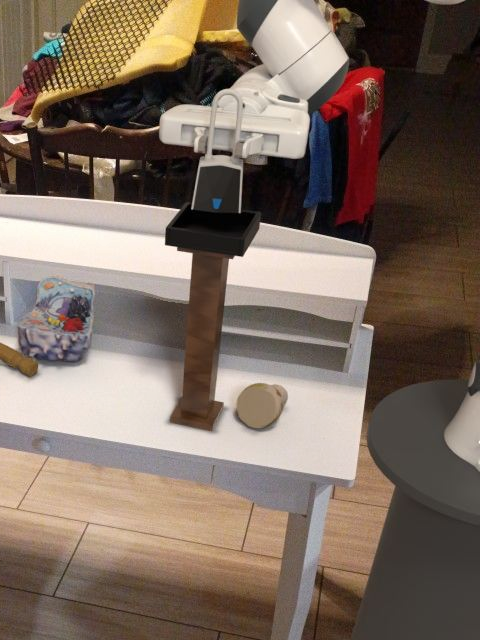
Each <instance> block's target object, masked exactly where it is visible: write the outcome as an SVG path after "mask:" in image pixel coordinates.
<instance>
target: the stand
mask: <svg viewBox="0 0 480 640" xmlns="http://www.w3.org/2000/svg"><path fill="white" fill-rule="evenodd" d="M176 251H177V252H182V253H188V254H192V257H191V269H190V282H189V283H190V285H189V295H188V310H187V324H186V337H185V348H184V349H185V350H184V363H183V379H182V391H181V392H182V393H181V396H180V398H179V400H178V402H177V404H176V406H175V408H174V409H173V411H172V413H171V415H170V420H169V422H170V423H171V424H175V425H176V424H177V425H182V426H186V427H190V428H196V429H200V430H205V431H209V432H210V431H211V432H213V431H214V428H215V426H216V424H217V422H218V419H219V418H220V416H221V414H222V411H223V409H224V404H225V402H224V401H219V400H215V398H216V389H217V379H218V372H219V371H218V370H219V360H220V350H221V341H222V333H223V332H222V330H223V323H224V312H225V303H226V292H227V284H228V275H229V274H228V273H229V266H230V265H229V264H230V260H234V259H235V257H236V256H233V255H226V254H219V253H213V252H206V251H200V250H193V249H186V248H180V247H176Z"/></svg>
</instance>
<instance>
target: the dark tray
mask: <svg viewBox="0 0 480 640" xmlns="http://www.w3.org/2000/svg"><path fill="white" fill-rule="evenodd" d="M191 208H192V202H189V201H185V203H184V204H183V205H182V207H181V208H180V209H179V210H178V212H176V214H175V215H174V217H173V218H172V219H171V220H170V222H169V223H168V224H167V225H166V226H165V234H164V246H167V247H174V248H177V247H180V248H186V249H193V250H200V251H206V252H213V253H219V254H226V255H233V256H235V257H241V258H243V257H244V256H245V254H246V252H247V251H248V249H249V247H250V246H251V244H252V242H253V240H254V239H255V237H256V235H257V234H258V232H259V231H260V226H261V219H262V212H261V211H254V210H249V209H248V210H247V209H241V213H216V212H208V211H201V210H193V209H191Z"/></svg>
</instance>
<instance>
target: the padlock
mask: <svg viewBox="0 0 480 640" xmlns="http://www.w3.org/2000/svg"><path fill="white" fill-rule="evenodd" d="M225 95H231V96H233V97H235V98H236V100H237V119H236V129H235V138H234V147H233V153H232V155H230V156H229V155H225V154H216V155H213V149H212V146H213V137H214V128H215V119H216V111H217V105H218V101H219V99H220V98H221V97H222V96H225ZM211 103H212V104H211V107H212V109H211V116H210V125H209V134H208V144H207V152H206V153H204V154H205V155H204V156H200V158H199V162H198V168H197V173H196V179H195V185H194V190H193V196H192V202H191V203H192V208H191V209H193V210H201V211H208V212H216V213H241V210H242V195H243V178H244V177H243V176H244V175H243V174H244V160H243V158H239V157H235V152H236V143H237V142H238V141H239V140H240V132H241V123H242V113H243V100H242V97H241V95H240V94H239V93H238V92H237V91H235V90H233V89H230V88H225V89H222V90H220V91H218V92H217V93H216V94H215V96H214V97H213V99H212V102H211Z"/></svg>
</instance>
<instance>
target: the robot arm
mask: <svg viewBox="0 0 480 640" xmlns="http://www.w3.org/2000/svg"><path fill="white" fill-rule="evenodd" d="M424 1H425V2H428V3H432V4H435V5H445V6H446V5H456V4H460V3H462V2H465V0H424ZM322 13H323V12H321V10H320V8H319V6H318V5H317V3H316V1H315V0H238V4H237V12H236V29H237V30H238V32H239V33H240V34H241V36H242V37H243V38H244V39H245V41H246V42H247V43H248V44H249V46H250V47H251V48H253V50H254V52H255V53H256V54H257V56H258V57H259V59H260V61H261V62H262V64H259V65H257V66H255V67H253V68H251V69H249V70H248V71H246V72H245V73H243V74H242V75H241V76H240V77H239V78H238V79H237V80H236V81H234V83H233V84H232V86H231V87H230V88H229V89H233V90H235V91H237V92H238V93H239V94H240V95H241V97H242V100H243V113H242V123H241V132H240V140H239V141H238V142H237V143H236V152H235V157H239V159H247V158H248V157H249V156H251V155H259V156H265V157H276V158H283V159H292V160H297V159H303V158H304V157H305V154H306V150H307V144H308V138H309V131H310V123H311V118H310V117H311V115H313V114H314V113H315V112H317V111H318V110H319V109H321V108H322V107H323V106H324V105H325V104H326V103H328V102H329V101H330V100H331V99H332V97H334V95H336V93H337V92H338V91H339V89H340V88H341V87H342V86H343V84H344V82H345V79H346V77H347V73H348V72H349V71H348V70H349V66H350V57H349V55H348V54H347V52H346V50H345V47H344V46H343V45H342V43H341V42H340V40H339V39H338V37H337V35H336V33H335V31H334V30H333V29H331V27H330V25H329V23H328V21H327V20H326V18H325V17H324V15H323V14H322ZM211 109H212V106H210V105H209V106H208V105H201V104H200V105H198V104H187V103H186V104H178V105H176V106H174V107H172V108H169V109H168V110H167V111H165V112H163V113H161V116H160V118H159V128H158V137H159V138H158V139H159V140H160V141H161V143H163V144H165V145H172V146H181V147H182V146H183V147H191V148H193V152H194V153H197V154H206V153H207V144H208V134H209V125H210V116H211ZM236 119H237V100H236V98H235V97H233V96H231V95H225V96H222V97H221V98H220V99H219V101H218V105H217V111H216V119H215V128H214V137H213V146H212V150H215V151H216V150H217V151H225V152H230V153H232V154H233V147H234V138H235V129H236ZM468 380H469V382H468V392H467V394H466V396H465V398H464V400H463V402H462V404H461V406H460V408H459V410H458V412H457V413H456V415H455V416H454V418H453V419H452V421H451V422H450V423H449V425H448V426H447V427H446V429H445V431H444V439H445V442H446V444H447V445H448V447H449V448H450V449H451V450H452V451H453V452H454V453H455V454H456V455H457V456H459V457H460V458H462V459H463V460H465V461H467V462H468V463H470V464H472V465H473V466H474V467H475V468H476V469H477V470H478V471H479V472H480V353H479V354H478V355H477V358H476V360H475V362H474V364H473V367H472V370H471V373H470V376H469V379H468Z"/></svg>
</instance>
